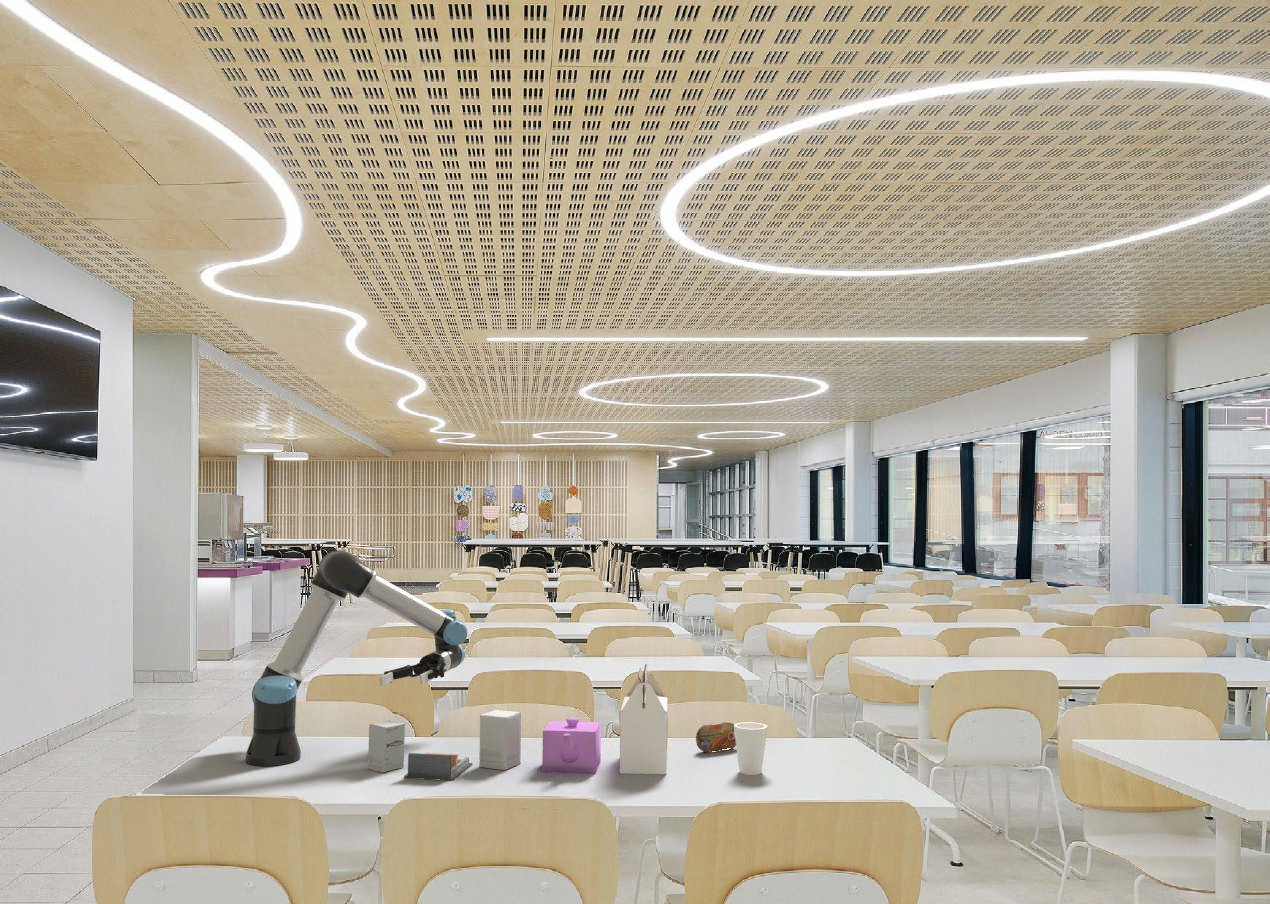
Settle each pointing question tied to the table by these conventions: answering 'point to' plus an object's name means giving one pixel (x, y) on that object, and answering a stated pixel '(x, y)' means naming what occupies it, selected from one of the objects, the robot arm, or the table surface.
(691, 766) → the table surface
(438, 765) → the pusher lane
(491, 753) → the supplement box
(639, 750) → the gable box
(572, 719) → the teapot
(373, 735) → the supplement box
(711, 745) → the tin
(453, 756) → the spring pusher
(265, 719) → the robot arm
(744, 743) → the foam cup
